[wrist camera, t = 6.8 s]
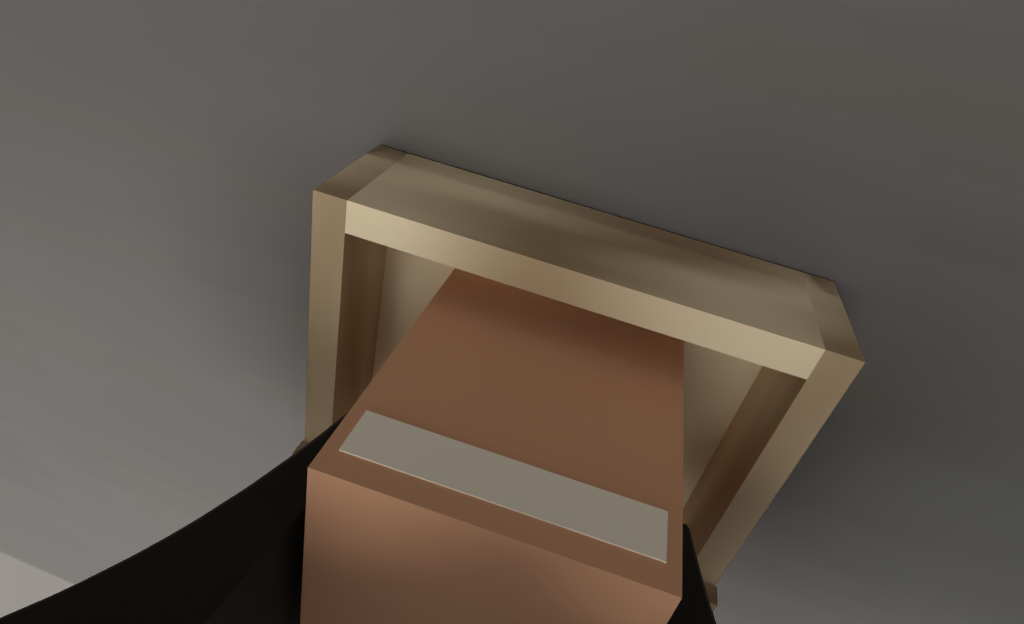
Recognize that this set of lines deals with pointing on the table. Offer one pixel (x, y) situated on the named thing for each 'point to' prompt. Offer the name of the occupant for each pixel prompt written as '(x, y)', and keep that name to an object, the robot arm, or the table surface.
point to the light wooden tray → (595, 287)
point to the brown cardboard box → (503, 472)
